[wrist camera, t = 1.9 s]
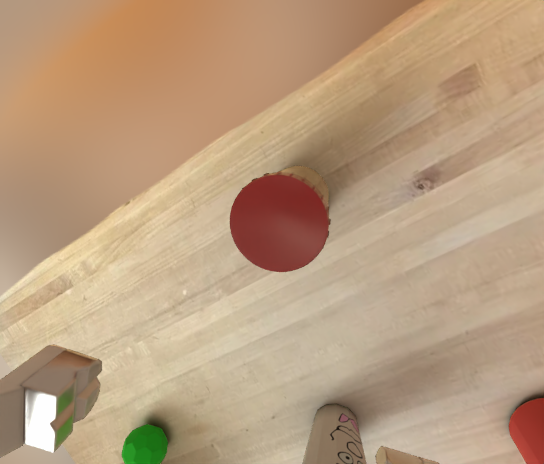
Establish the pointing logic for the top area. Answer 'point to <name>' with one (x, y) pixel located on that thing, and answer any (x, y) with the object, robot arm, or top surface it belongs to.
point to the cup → (334, 438)
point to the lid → (280, 221)
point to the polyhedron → (145, 446)
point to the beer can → (529, 430)
